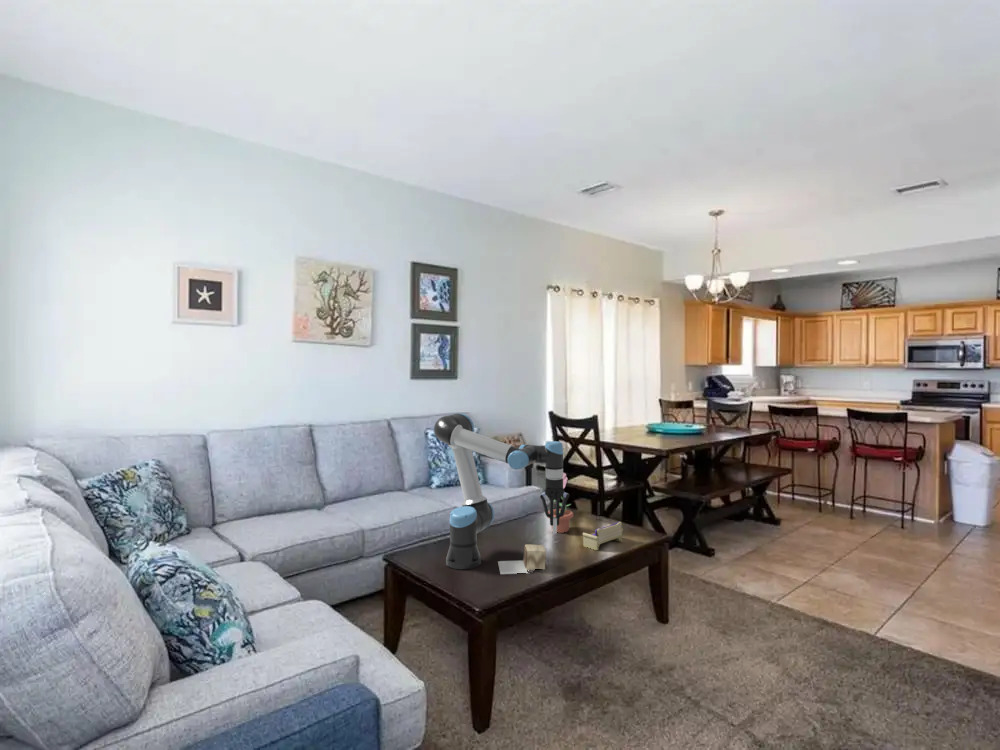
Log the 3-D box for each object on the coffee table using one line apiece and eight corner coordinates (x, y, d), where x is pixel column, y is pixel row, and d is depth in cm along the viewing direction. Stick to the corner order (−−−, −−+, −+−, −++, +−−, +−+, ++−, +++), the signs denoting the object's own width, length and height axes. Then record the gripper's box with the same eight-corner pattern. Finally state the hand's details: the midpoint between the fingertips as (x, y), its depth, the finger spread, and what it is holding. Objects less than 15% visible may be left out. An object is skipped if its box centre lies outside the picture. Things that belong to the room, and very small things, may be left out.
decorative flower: (539, 529, 290) (539, 472, 289) (559, 524, 299) (559, 468, 298) (559, 536, 278) (559, 477, 277) (579, 531, 287) (579, 473, 286)
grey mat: (500, 574, 231) (500, 573, 231) (497, 561, 245) (497, 561, 245) (534, 573, 232) (534, 572, 232) (529, 560, 246) (529, 560, 246)
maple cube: (544, 570, 235) (525, 569, 235) (541, 563, 243) (523, 562, 243) (545, 551, 235) (526, 550, 235) (542, 544, 243) (524, 544, 242)
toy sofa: (608, 537, 278) (608, 516, 278) (623, 541, 272) (623, 520, 272) (582, 547, 264) (582, 525, 264) (596, 551, 258) (596, 529, 257)
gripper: (567, 475, 243) (567, 529, 243) (537, 476, 242) (538, 530, 242) (571, 479, 235) (571, 535, 236) (540, 480, 234) (540, 536, 235)
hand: (554, 532), depth 239 cm, fingers closed
